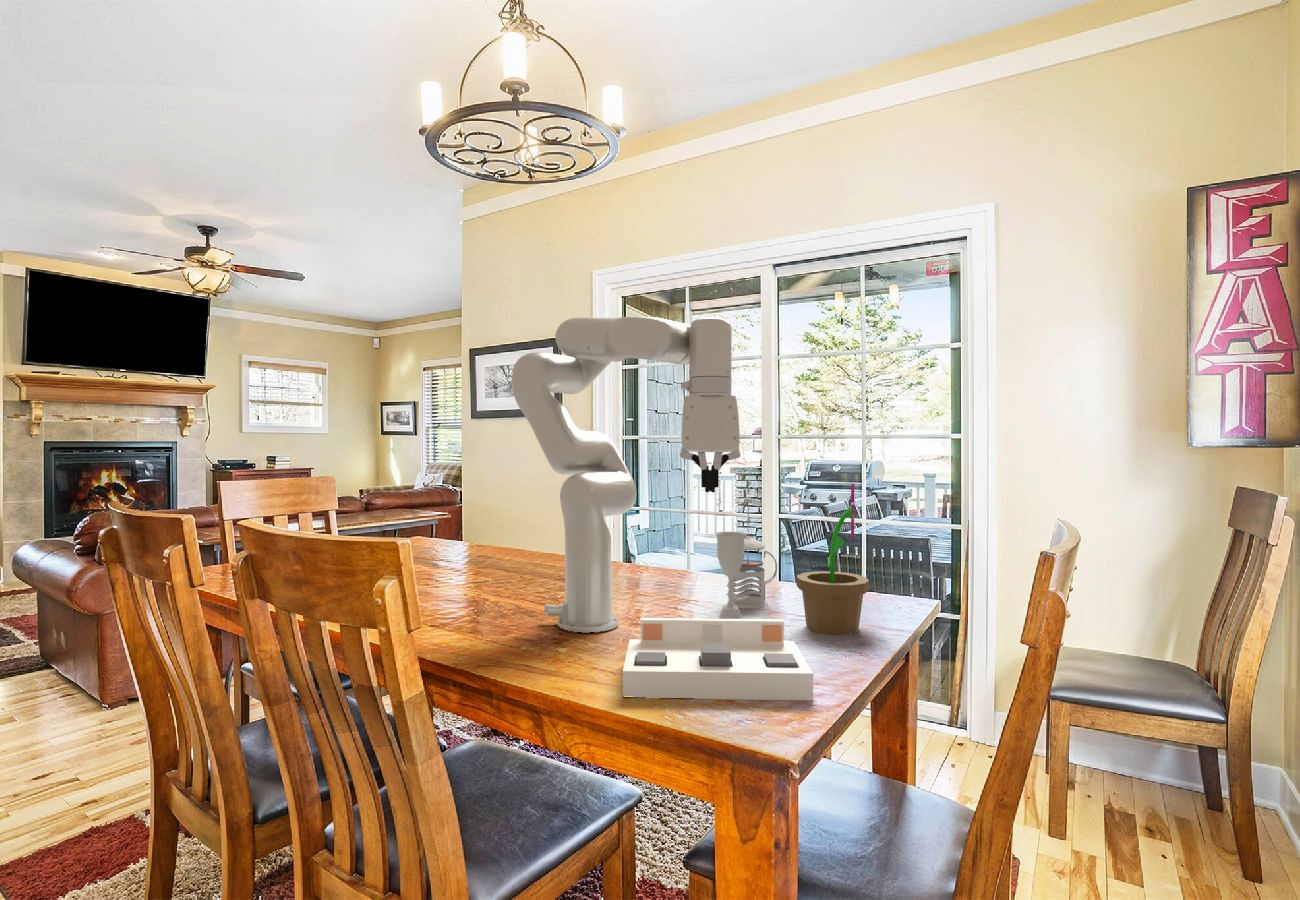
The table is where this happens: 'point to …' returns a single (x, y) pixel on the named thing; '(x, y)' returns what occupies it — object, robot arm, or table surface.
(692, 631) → the button board
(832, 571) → the flowerpot
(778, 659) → the button right
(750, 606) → the french press
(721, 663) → the button middle
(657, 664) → the button left
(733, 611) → the chalice
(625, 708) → the table surface
